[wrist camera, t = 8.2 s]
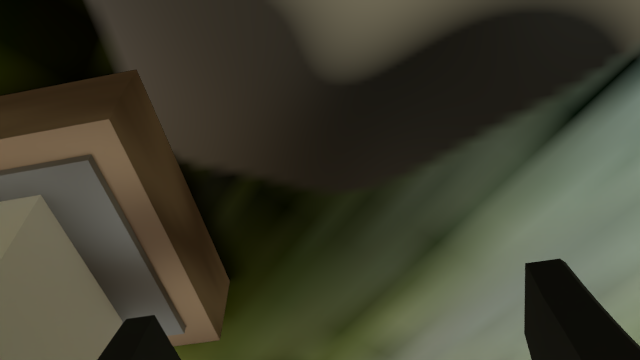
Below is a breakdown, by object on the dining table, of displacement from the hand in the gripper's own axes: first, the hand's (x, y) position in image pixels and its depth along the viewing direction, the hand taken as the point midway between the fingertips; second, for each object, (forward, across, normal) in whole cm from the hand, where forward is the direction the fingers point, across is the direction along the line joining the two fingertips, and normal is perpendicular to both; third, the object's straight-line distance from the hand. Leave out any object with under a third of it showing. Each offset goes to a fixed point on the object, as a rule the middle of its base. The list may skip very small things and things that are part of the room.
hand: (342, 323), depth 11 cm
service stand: (+9, +11, +3) cm, 15 cm away
